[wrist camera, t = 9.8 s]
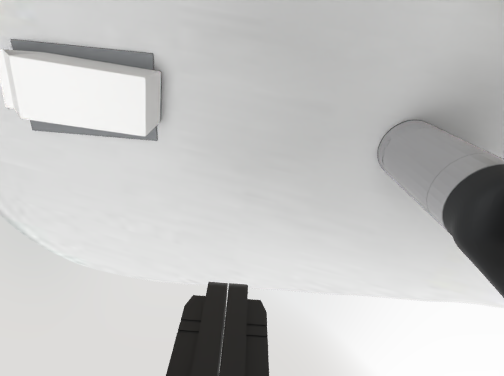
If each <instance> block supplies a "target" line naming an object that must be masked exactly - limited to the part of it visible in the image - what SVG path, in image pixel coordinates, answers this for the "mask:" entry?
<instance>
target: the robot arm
mask: <svg viewBox="0 0 504 376" xmlns="http://www.w3.org/2000/svg"><path fill="white" fill-rule="evenodd" d="M378 160H379V164H380V166H381V167H382V169H383V170H384V171H385V172H386V173H387V174H388V175H389V176H390V177H392V178H393V179H394V181H395V182H396V183H398V184H399V185H400V186H401V187H402V188H403V189H404V190H405V191H406V192H407V193H408V194H409V195H410V196H411V197H412V198H413V199H414V200H415V201H416V202H417V203H418V204H419V205H420V206H422V207H423V208H424V209H425V210H426V211H427V212H428V213H429V214H430V215H431V216H432V217H433V218H434V219H435V220H436V221H437V222H438V223H439V224H440V225H441V226H443V227H444V228H445V229H446V230H447V231H448V232H449V233H450V234H451V235H452V236H453V238H454V241H455V243H456V244H457V246H458V247H459V248H460V250H461V251H462V252H463V253H464V254H465V255H466V256H467V257H468V258H469V259H470V260H471V261H472V262H473V264H474V265H475V266H476V267H477V268H478V269H479V270H480V271H481V272H482V273H483V275H484V276H485V277H486V278H487V279H488V280H489V281H490V283H491V284H492V285H493V286H494V287H495V288H496V289H497V290H498V292H499V293H500V294H501V295H502V296H503V297H504V159H502V158H500V157H498V156H496V155H494V154H492V153H489V152H487V151H485V150H483V149H481V148H479V147H477V146H475V145H473V144H470V143H468V142H466V141H464V140H462V139H460V138H458V137H456V136H454V135H451V134H449V133H447V132H445V131H443V130H441V129H439V128H437V127H435V126H433V125H430V124H428V123H426V122H423V121H418V120H412V121H406V122H403V123H401V124H399V125H397V126H395V127H394V128H392V129H391V130H390V131H389V132H388V133H387V134H386V135H385V136H384V138H383V139H382V141H381V143H380V146H379V149H378ZM227 285H228V283H217V282H209V283H208V288H207V293H206V296H195V295H193V296H192V297H191V299H190V300H189V301H188V302H187V304H186V305H185V306H184V311H183V314H182V318H181V322H180V325H179V329H178V333H177V336H176V340H175V344H174V348H173V352H172V355H171V359H170V363H169V366H168V370H167V374H166V376H269V363H268V340H267V314H266V310H265V308H264V306H263V304H262V302H261V301H260V300H250V299H247V294H248V285H244V284H231V283H229V290H228V299H227ZM226 299H227V308H226ZM225 312H226V317H225ZM224 323H225V326H224ZM223 333H224V335H223ZM222 342H223V345H222ZM221 351H222V354H221ZM220 360H221V363H220ZM219 369H220V372H219Z"/></svg>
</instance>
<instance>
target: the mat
mask: <svg viewBox="0 0 504 376" xmlns="http://www.w3.org/2000/svg"><path fill="white" fill-rule="evenodd" d="M11 43H12V47H13V50H19V51H33V52H46V53H52V54H58V55H64V56H70V57H77V58H83V59H89V60H95V61H101V62H107V63H113V64H119V65H125V66H131V67H137V68H143V69H149V70H154V61H153V54H152V53H142V52H132V51H122V50H112V49H103V48H93V47H83V46H73V45H63V44H54V43H44V42H34V41H24V40H14V39H11ZM30 122H31V126H32V130H35V131H47V132H59V133H70V134H82V135H94V136H106V137H118V138H129V139H141V140H153V141H157V126H156V127H155V128H154V129H153V130H152V131H151V132H150V133H149V134H148V135H146V136H137V135H130V134H123V133H116V132H109V131H103V130H96V129H89V128H82V127H75V126H68V125H61V124H54V123H47V122H41V121H34V120H30Z"/></svg>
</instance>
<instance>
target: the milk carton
mask: <svg viewBox="0 0 504 376" xmlns="http://www.w3.org/2000/svg"><path fill="white" fill-rule="evenodd" d="M0 83H1V88H2V93H3V97H4V102H5V107H6V108H11V109H15V110H16V112H17V114H18V115H19V117H20V119H27V120H34V121H41V122H47V123H54V124H61V125H68V126H75V127H82V128H89V129H96V130H103V131H109V132H116V133H123V134H130V135H137V136H146V135H148V134H149V133H150V132H151V131H152V130H153V129H154V128H155V127H156V126H157V125H158V124H159V123H160V105H161V72H160V71H155V70H149V69H143V68H137V67H131V66H125V65H119V64H113V63H107V62H101V61H95V60H89V59H83V58H77V57H70V56H64V55H58V54H52V53H46V52H33V51H19V50H5V49H0Z"/></svg>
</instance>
